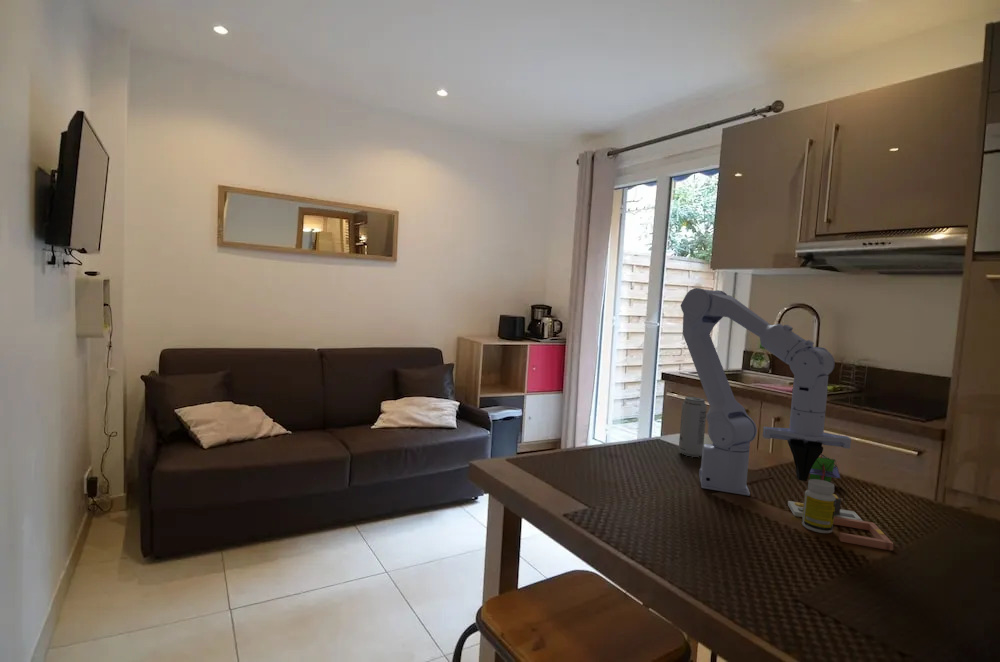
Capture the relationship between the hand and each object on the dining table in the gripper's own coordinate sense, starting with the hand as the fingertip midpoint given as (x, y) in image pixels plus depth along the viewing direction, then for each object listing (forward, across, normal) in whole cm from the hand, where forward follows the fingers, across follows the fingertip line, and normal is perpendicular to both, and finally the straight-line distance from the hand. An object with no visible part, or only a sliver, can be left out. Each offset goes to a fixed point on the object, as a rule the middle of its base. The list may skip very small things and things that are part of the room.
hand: (801, 479), depth 100 cm
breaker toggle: (+5, +5, 0) cm, 7 cm away
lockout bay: (+6, +8, -7) cm, 13 cm away
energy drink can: (+6, -19, +31) cm, 37 cm away
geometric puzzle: (+7, +9, +22) cm, 25 cm away
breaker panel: (+6, +4, 0) cm, 8 cm away
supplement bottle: (+7, +1, -7) cm, 10 cm away
